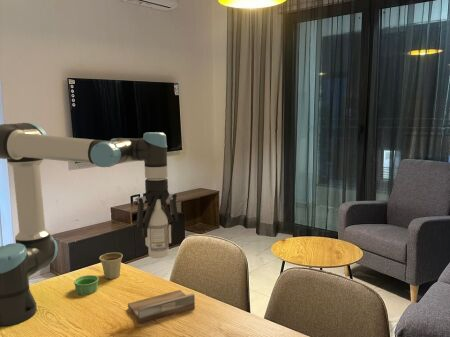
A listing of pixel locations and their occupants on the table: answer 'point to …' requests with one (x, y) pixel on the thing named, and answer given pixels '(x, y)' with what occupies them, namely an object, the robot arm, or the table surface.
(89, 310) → the table surface
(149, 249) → the bath foam
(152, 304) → the brown piece
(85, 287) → the ramekin
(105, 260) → the flower pot
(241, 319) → the table surface
